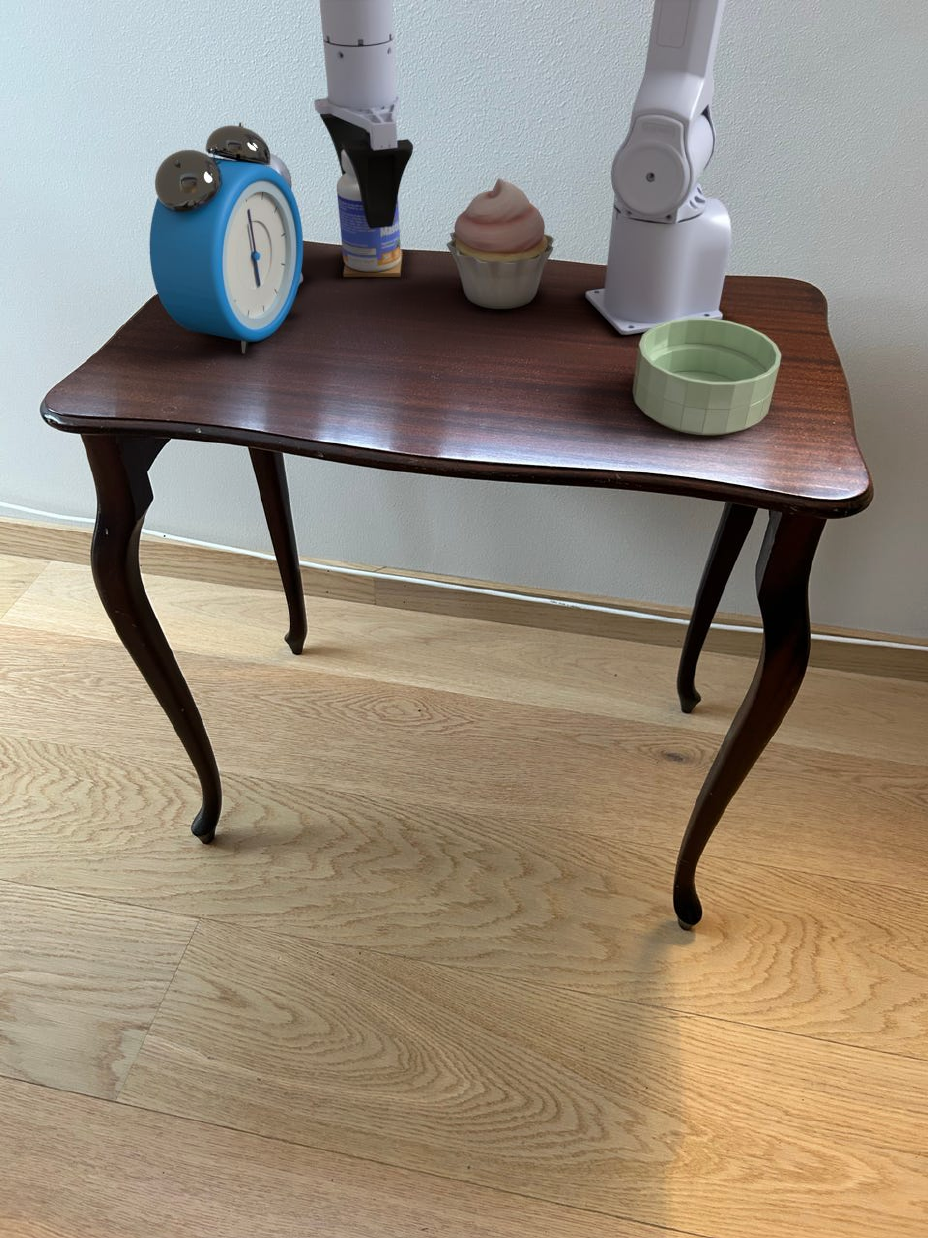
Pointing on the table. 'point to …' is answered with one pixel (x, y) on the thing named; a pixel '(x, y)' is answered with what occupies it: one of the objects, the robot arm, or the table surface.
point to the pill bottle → (364, 229)
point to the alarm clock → (226, 238)
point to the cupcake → (500, 248)
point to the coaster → (390, 272)
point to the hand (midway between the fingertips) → (370, 210)
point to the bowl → (705, 375)
